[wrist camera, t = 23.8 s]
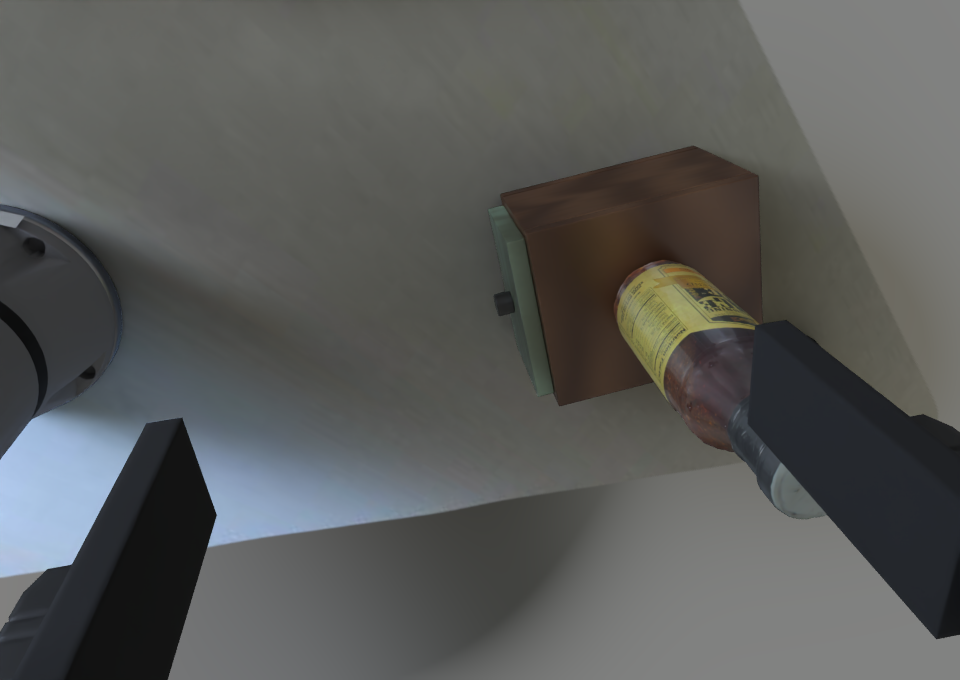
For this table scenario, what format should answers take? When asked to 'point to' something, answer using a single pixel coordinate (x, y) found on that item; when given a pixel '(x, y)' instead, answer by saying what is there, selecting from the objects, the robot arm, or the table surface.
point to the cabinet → (631, 253)
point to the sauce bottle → (704, 367)
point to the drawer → (520, 299)
